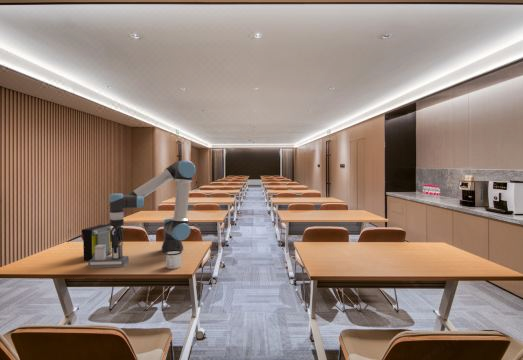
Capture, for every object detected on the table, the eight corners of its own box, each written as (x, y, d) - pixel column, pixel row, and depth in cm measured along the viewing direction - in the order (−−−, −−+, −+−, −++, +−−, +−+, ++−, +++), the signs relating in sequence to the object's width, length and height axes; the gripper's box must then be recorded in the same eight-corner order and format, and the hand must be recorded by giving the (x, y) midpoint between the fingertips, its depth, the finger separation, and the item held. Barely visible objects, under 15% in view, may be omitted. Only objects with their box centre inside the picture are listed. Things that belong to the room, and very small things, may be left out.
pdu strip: (128, 262, 192) (128, 255, 192) (123, 266, 183) (123, 260, 182) (95, 263, 190) (95, 256, 190) (88, 267, 181) (88, 261, 181)
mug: (167, 264, 187) (167, 250, 187) (183, 264, 187) (183, 249, 187) (162, 271, 175) (162, 255, 175) (178, 270, 175) (178, 255, 175)
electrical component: (95, 261, 193) (94, 230, 192) (81, 260, 195) (80, 229, 194) (113, 253, 210) (113, 225, 210) (100, 253, 212) (100, 224, 212)
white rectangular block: (106, 262, 188) (105, 244, 188) (102, 264, 184) (102, 246, 183) (98, 262, 188) (97, 244, 187) (94, 264, 183) (94, 246, 183)
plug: (122, 258, 189) (122, 240, 189) (120, 260, 185) (119, 242, 184) (115, 258, 189) (114, 240, 188) (112, 260, 184) (111, 242, 184)
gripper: (115, 216, 194) (116, 253, 195) (104, 221, 177) (105, 261, 177) (128, 216, 195) (128, 252, 196) (117, 221, 177) (118, 260, 178)
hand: (117, 256), depth 187 cm, fingers closed on plug, 4 cm apart
